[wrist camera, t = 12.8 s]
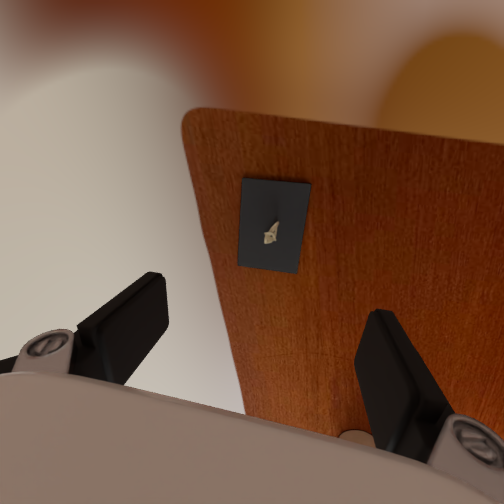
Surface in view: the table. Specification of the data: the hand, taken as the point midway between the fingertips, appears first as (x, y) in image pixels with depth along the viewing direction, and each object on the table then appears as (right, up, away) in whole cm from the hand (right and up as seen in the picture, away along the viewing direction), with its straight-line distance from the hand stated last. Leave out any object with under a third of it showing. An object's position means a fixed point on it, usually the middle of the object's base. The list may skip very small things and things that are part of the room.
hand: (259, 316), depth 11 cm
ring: (+2, +6, +15) cm, 16 cm away
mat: (+2, +6, +15) cm, 16 cm away
